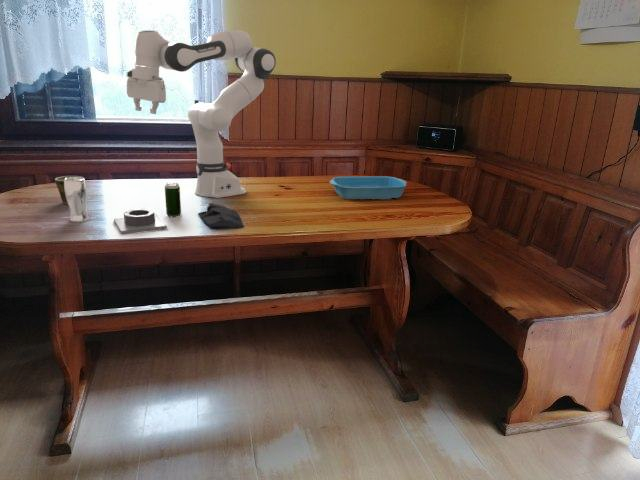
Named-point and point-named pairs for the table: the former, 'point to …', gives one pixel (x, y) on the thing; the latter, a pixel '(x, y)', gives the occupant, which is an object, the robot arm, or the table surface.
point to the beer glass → (76, 198)
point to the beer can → (172, 199)
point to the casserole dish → (368, 187)
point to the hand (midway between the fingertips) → (145, 112)
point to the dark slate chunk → (221, 217)
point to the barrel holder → (139, 221)
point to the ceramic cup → (62, 187)
